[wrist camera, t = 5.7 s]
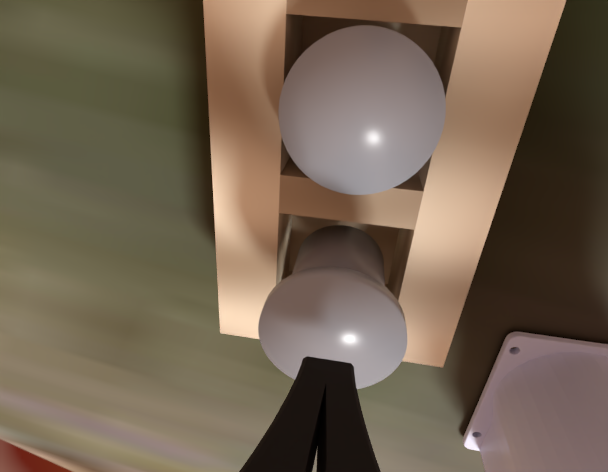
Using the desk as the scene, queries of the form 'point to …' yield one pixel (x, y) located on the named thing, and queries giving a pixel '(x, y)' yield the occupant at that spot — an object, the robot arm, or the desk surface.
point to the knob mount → (387, 204)
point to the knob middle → (362, 110)
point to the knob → (335, 308)
